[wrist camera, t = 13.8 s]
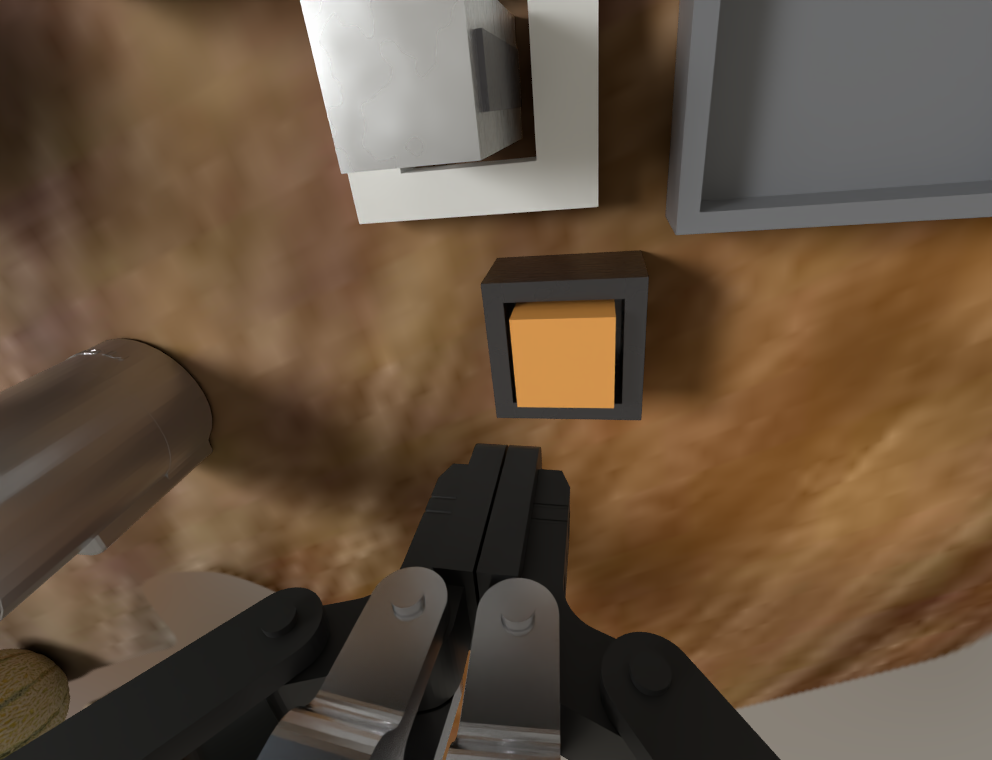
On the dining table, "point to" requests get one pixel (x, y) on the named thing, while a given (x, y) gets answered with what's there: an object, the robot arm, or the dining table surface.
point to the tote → (830, 113)
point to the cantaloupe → (29, 698)
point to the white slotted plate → (522, 181)
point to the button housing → (570, 282)
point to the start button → (564, 353)
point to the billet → (416, 80)
